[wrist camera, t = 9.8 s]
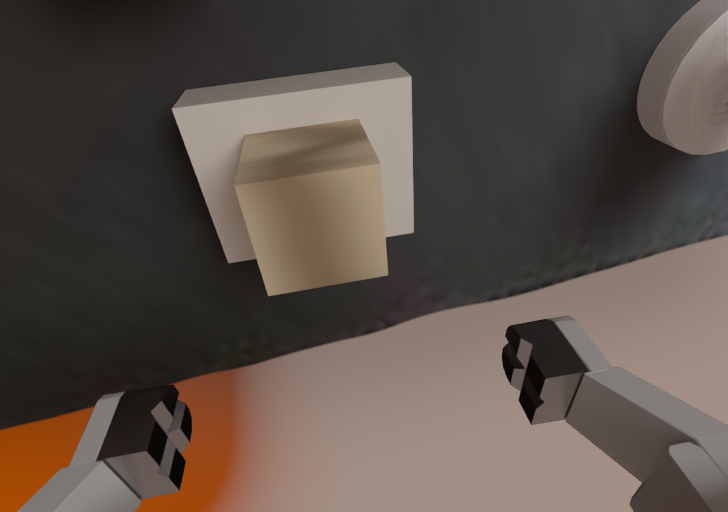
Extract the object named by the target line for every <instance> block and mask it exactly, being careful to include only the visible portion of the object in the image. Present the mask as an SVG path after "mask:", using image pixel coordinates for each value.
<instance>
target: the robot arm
mask: <svg viewBox="0 0 728 512" xmlns="http://www.w3.org/2000/svg"><path fill="white" fill-rule="evenodd" d="M505 337H506V338H507V340H508V342H509V343H508V344H507V345H506V346H505V347H504V348H503V352H502V362H503V368H504V371H505V374H506V376H507V378H508V381H509V382H510V384H511V385H512V386H513V387H515V388H516V389H518V390H520V391H521V392H520V397H519V402H520V404H521V406H522V408H523V410H524V412H525V414H526V415H527V417H528V419H529V421H530V423H531V425H533V424H540V423H545V422H552V421H558V420H564V419H566V422H567V423H568V424H570V425H571V426H572V427H573V428H575V429H576V430H577V431H578V432H579V433H581V434H582V435H583V436H584V437H586V438H587V439H588V440H590V441H591V442H592V443H593V444H594V445H596V446H597V447H598V448H599V449H601V450H602V451H603V452H604V453H606V454H607V455H608V456H609V457H611V458H612V459H613V460H615V461H616V462H617V463H618V464H620V465H621V466H622V467H623V468H624V469H626V470H627V471H628V472H629V473H631V474H632V475H633V476H634V477H636V478H637V479H638V480H639V481H641V482H642V484H641V486H640V487H639V488H638V490H637V491H636V492H635V494H634V495H633V497H632V499H631V502H630V506H631V508H632V509H633V511H634V512H728V425H726V424H724V423H722V422H720V421H718V420H716V419H714V418H713V417H711V416H709V415H707V414H705V413H703V412H702V411H700V410H698V409H696V408H694V407H692V406H690V405H689V404H687V403H685V402H683V401H681V400H679V399H678V398H676V397H674V396H672V395H670V394H668V393H666V392H665V391H663V390H661V389H659V388H657V387H655V386H653V385H651V384H650V383H648V382H646V381H644V380H642V379H640V378H639V377H637V376H635V375H633V374H631V373H629V372H627V371H625V370H624V369H622V368H620V367H615V368H613V367H612V366H611V365H610V364H609V362H608V361H607V360H606V358H605V357H604V356H603V355H602V353H601V352H600V351H599V350H598V348H597V347H596V346H595V345H594V344H593V342H592V341H591V340H590V338H589V337H588V336H587V334H586V333H585V332H584V331H583V329H582V328H581V327H580V326H579V325H578V323H577V322H576V321H575V319H574V318H572V317H571V316H563V317H557V318H551V319H544V320H538V321H532V322H527V323H522V324H516V325H511V326H509V327H508V328H507V330H506V335H505ZM178 395H179V392H178V390H177V389H176V387H175V386H174V385H165V386H158V387H151V388H145V389H138V390H131V391H124V392H118V393H112V394H106V395H103V396H102V397H101V398H100V399H99V400H98V401H97V403H96V405H95V407H94V410H93V412H92V414H91V417H90V419H89V421H88V424H87V426H86V428H85V430H84V433H83V435H82V437H81V439H80V442H79V444H78V446H77V448H76V451H75V453H74V455H73V458H72V460H71V462H70V465H69V467H64V468H61V469H60V470H59V471H58V472H57V473H56V474H55V475H54V476H53V477H52V478H51V479H50V480H49V481H48V482H47V483H46V484H45V485H44V486H43V487H42V488H41V489H40V490H39V491H38V492H37V493H36V494H35V495H33V496H32V497H31V499H29V500H28V501H27V502H26V504H24V505H23V506H22V507H21V508H20V509H19V510H18V511H17V512H135V511H136V509H137V508H138V506H139V505H140V503H141V499H145V498H150V497H155V496H159V495H164V494H168V493H173V492H178V491H180V487H181V482H182V477H183V473H184V468H185V463H186V461H185V459H184V458H183V456H182V454H181V453H182V452H183V450H184V449H185V448H186V447H187V445H188V444H189V443H190V439H191V433H192V417H191V414H190V410H189V408H188V406H187V405H186V403H183V402H181V401H179V400H177V399H178Z"/></svg>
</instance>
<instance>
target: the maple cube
mask: <svg viewBox="0 0 728 512" xmlns="http://www.w3.org/2000/svg"><path fill="white" fill-rule="evenodd" d="M234 188H235V191H236V194H237V197H238V200H239V204H240V207H241V210H242V213H243V216H244V220H245V223H246V226H247V229H248V233H249V236H250V239H251V242H252V245H253V249H254V252H255V255H256V258H257V261H258V265H259V268H260V271H261V274H262V278H263V281H264V284H265V287H266V290H267V294H268V296H272V295H278V294H283V293H289V292H295V291H301V290H306V289H312V288H318V287H324V286H329V285H335V284H341V283H347V282H352V281H358V280H364V279H370V278H375V277H381V276H387V275H388V266H387V251H386V236H385V222H384V207H383V192H382V177H381V163H380V161H379V159H378V157H377V155H376V153H375V151H374V149H373V147H372V145H371V143H370V141H369V139H368V137H367V135H366V133H365V131H364V129H363V127H362V125H361V123H360V120H359V119H352V120H345V121H338V122H331V123H324V124H317V125H310V126H303V127H296V128H289V129H282V130H275V131H268V132H261V133H254V134H247V135H245V137H244V141H243V146H242V151H241V155H240V160H239V165H238V169H237V174H236V179H235V183H234Z"/></svg>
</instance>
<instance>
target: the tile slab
mask: <svg viewBox="0 0 728 512" xmlns="http://www.w3.org/2000/svg"><path fill="white" fill-rule="evenodd" d="M172 111H173V114H174V116H175V119H176V122H177V125H178V127H179V130H180V133H181V135H182V138H183V141H184V144H185V146H186V149H187V152H188V155H189V157H190V160H191V163H192V165H193V168H194V171H195V174H196V176H197V179H198V182H199V184H200V187H201V190H202V193H203V195H204V198H205V201H206V204H207V206H208V209H209V212H210V214H211V217H212V220H213V223H214V225H215V228H216V231H217V234H218V236H219V239H220V242H221V244H222V247H223V250H224V253H225V255H226V258H227V261H228V263H234V262H240V261H246V260H252V259H257V258H256V255H255V252H254V249H253V245H252V242H251V239H250V236H249V233H248V229H247V226H246V223H245V220H244V216H243V213H242V210H241V207H240V204H239V200H238V197H237V194H236V191H235V188H234V183H235V179H236V174H237V169H238V165H239V160H240V155H241V151H242V146H243V141H244V137H245V135H247V134H254V133H261V132H268V131H275V130H282V129H289V128H296V127H303V126H310V125H317V124H324V123H331V122H338V121H345V120H352V119H359V120H360V123H361V125H362V127H363V129H364V131H365V133H366V135H367V137H368V139H369V141H370V143H371V145H372V147H373V149H374V151H375V153H376V155H377V157H378V159H379V161H380V163H381V177H382V192H383V207H384V222H385V236H386V237H390V236H396V235H402V234H408V233H414V208H413V147H412V86H411V75H409V74H408V73H407V72H406V71H405V70H404V69H403V68H401V67H400V66H399V65H398V64H397V63H396V62H394V63H386V64H379V65H371V66H363V67H356V68H348V69H341V70H333V71H326V72H318V73H311V74H303V75H295V76H288V77H280V78H273V79H265V80H258V81H250V82H243V83H235V84H227V85H220V86H212V87H205V88H197V89H190V90H185V92H184V93H183V94H182V96H181V97H180V98H179V100H178V101H177V102H176V104H175V105H174V106H173V108H172Z"/></svg>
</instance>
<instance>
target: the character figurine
mask: <svg viewBox="0 0 728 512" xmlns="http://www.w3.org/2000/svg"><path fill="white" fill-rule="evenodd" d="M637 112H638V117H639V121H640V123H641V125H642V127H643V129H644V130H645V131H646V132H647V133H648V134H649V135H650V136H651V137H653V138H655V139H657V140H659V141H661V142H663V143H665V144H667V145H670V146H672V147H674V148H676V149H678V150H680V151H683V152H686V153H688V154H696V155H708V154H712V153H717V152H721V151H725V150H728V0H701V1H699V2H698V3H697V4H696V5H694V6H693V7H692V8H691V9H690V10H689V11H687V12H686V13H685V14H684V15H683V16H682V17H681V18H680V19H679V20H678V21H677V22H676V23H675V24H674V26H673V27H672V28H671V29H670V30H669V31H668V32H667V34H666V35H665V36H664V38H663V39H662V41H661V42H660V43H659V45H658V46H657V47H656V49H655V51H654V53H653V55H652V56H651V58H650V60H649V62H648V64H647V66H646V68H645V71H644V73H643V76H642V78H641V81H640V86H639V90H638V95H637Z"/></svg>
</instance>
